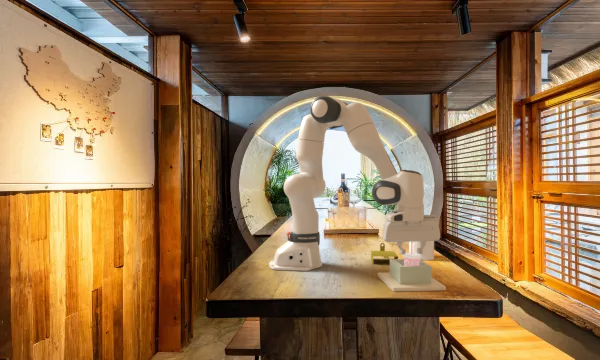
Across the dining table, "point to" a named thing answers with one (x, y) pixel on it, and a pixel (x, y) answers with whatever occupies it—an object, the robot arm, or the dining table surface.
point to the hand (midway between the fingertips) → (411, 253)
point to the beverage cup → (411, 258)
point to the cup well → (410, 277)
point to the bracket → (383, 253)
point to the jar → (424, 249)
